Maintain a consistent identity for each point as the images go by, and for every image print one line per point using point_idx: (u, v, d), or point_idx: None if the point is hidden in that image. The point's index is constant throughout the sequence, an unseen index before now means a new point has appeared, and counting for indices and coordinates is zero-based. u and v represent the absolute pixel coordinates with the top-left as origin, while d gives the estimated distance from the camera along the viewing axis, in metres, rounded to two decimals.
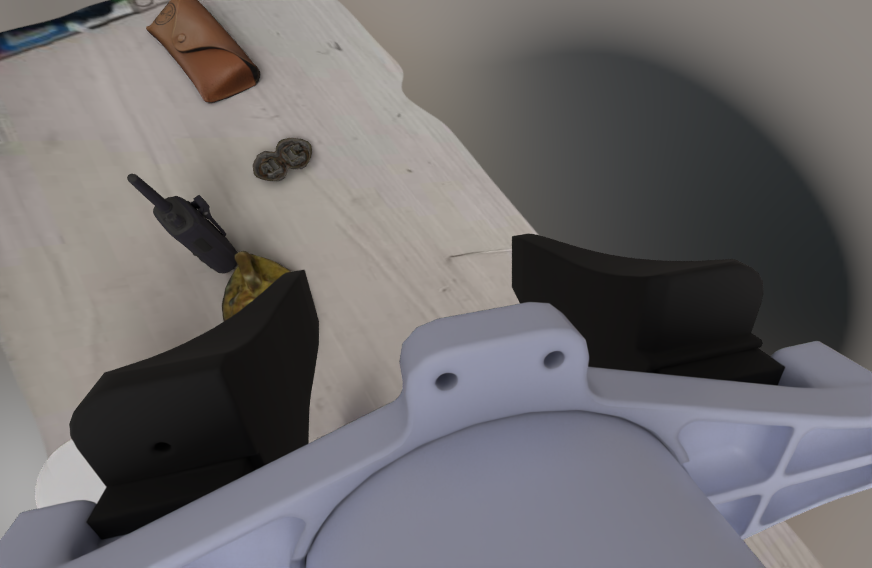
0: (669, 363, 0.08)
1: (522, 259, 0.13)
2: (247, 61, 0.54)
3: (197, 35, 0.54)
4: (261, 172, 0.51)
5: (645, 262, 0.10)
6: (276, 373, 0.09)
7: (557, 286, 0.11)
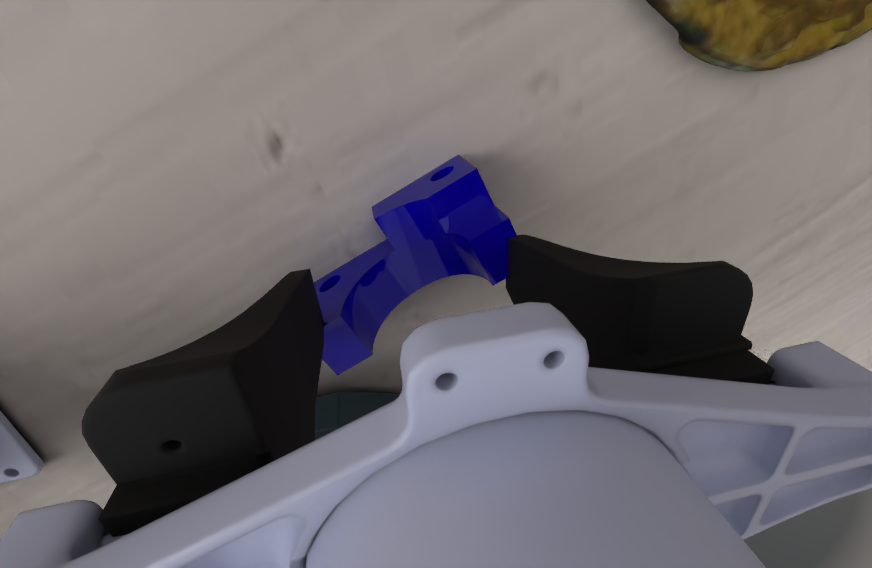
0: (658, 365, 0.08)
1: (515, 260, 0.13)
2: None
3: None
4: None
5: (636, 264, 0.09)
6: (283, 371, 0.09)
7: (549, 287, 0.11)
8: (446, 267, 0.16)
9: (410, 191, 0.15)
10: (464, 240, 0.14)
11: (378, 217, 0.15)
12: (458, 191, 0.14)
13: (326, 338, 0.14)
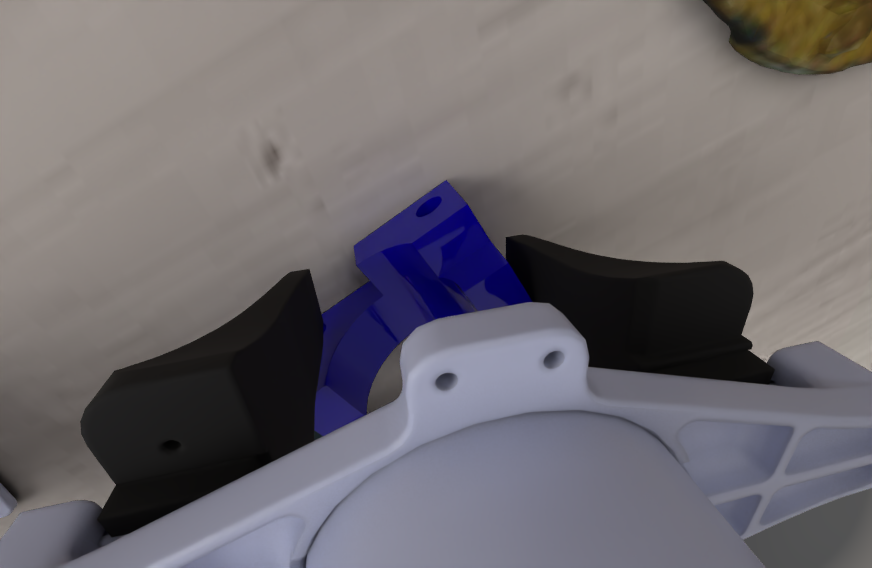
0: (659, 365, 0.08)
1: (516, 260, 0.13)
2: None
3: None
4: None
5: (636, 264, 0.09)
6: (283, 371, 0.09)
7: (549, 287, 0.11)
8: (442, 308, 0.14)
9: (394, 228, 0.14)
10: (459, 287, 0.12)
11: (360, 263, 0.13)
12: (448, 231, 0.12)
13: None
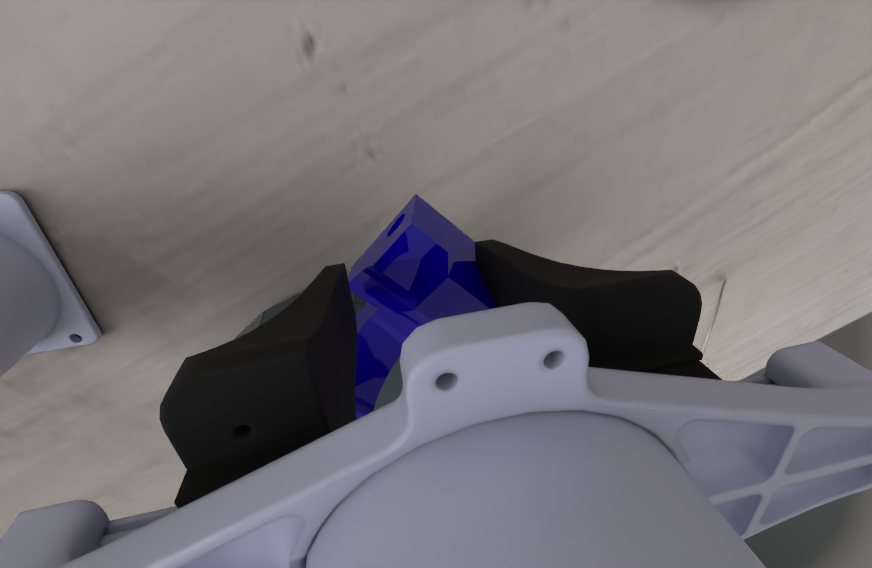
0: None
1: (483, 266, 0.13)
2: None
3: None
4: None
5: (592, 271, 0.09)
6: (334, 362, 0.09)
7: (512, 294, 0.11)
8: None
9: (373, 248, 0.15)
10: None
11: None
12: (402, 250, 0.13)
13: None
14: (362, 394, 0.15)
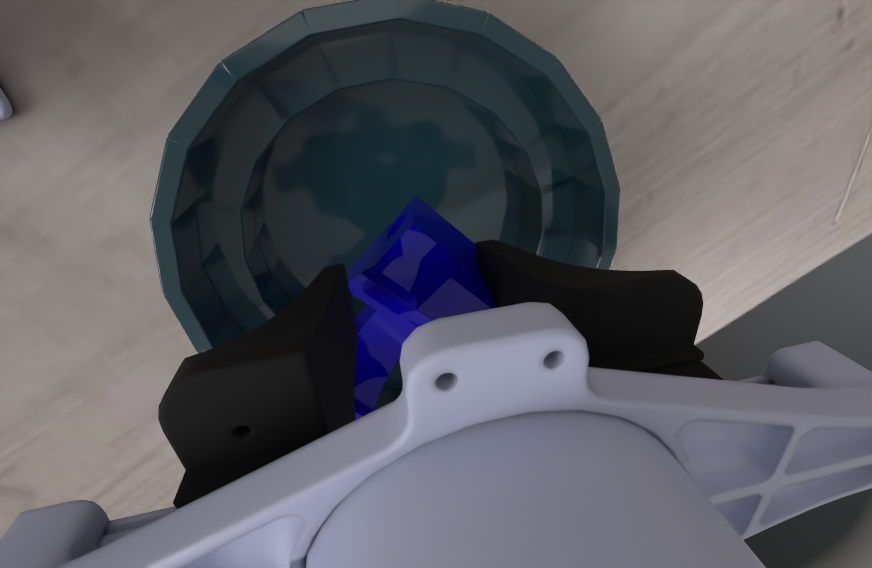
0: None
1: (484, 266, 0.13)
2: None
3: None
4: None
5: (593, 271, 0.09)
6: (334, 362, 0.09)
7: (513, 294, 0.11)
8: None
9: (373, 250, 0.15)
10: None
11: None
12: (403, 251, 0.13)
13: None
14: (362, 396, 0.15)
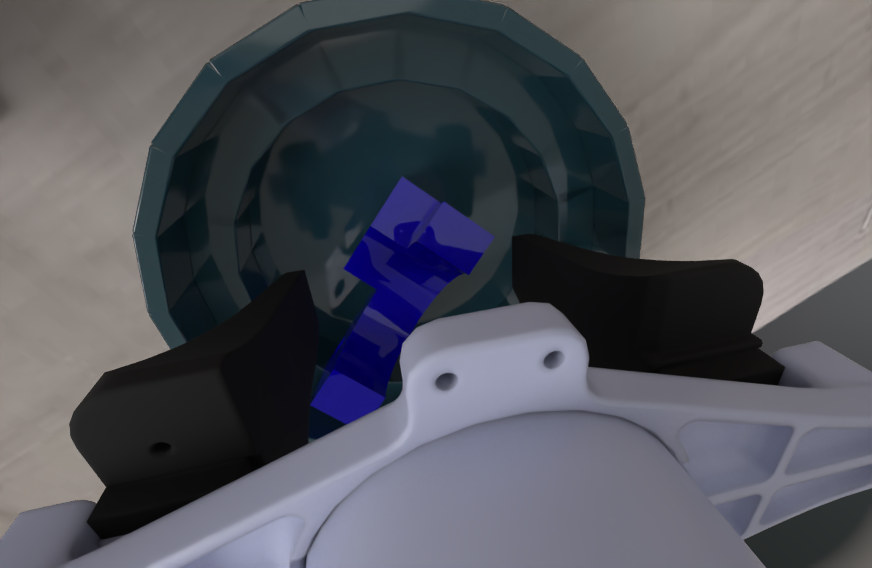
0: (669, 363, 0.08)
1: (522, 259, 0.13)
2: None
3: None
4: None
5: (645, 262, 0.10)
6: (275, 373, 0.09)
7: (557, 286, 0.11)
8: (431, 284, 0.15)
9: None
10: (419, 245, 0.14)
11: (346, 266, 0.15)
12: (396, 205, 0.14)
13: (331, 396, 0.14)
14: (372, 377, 0.14)
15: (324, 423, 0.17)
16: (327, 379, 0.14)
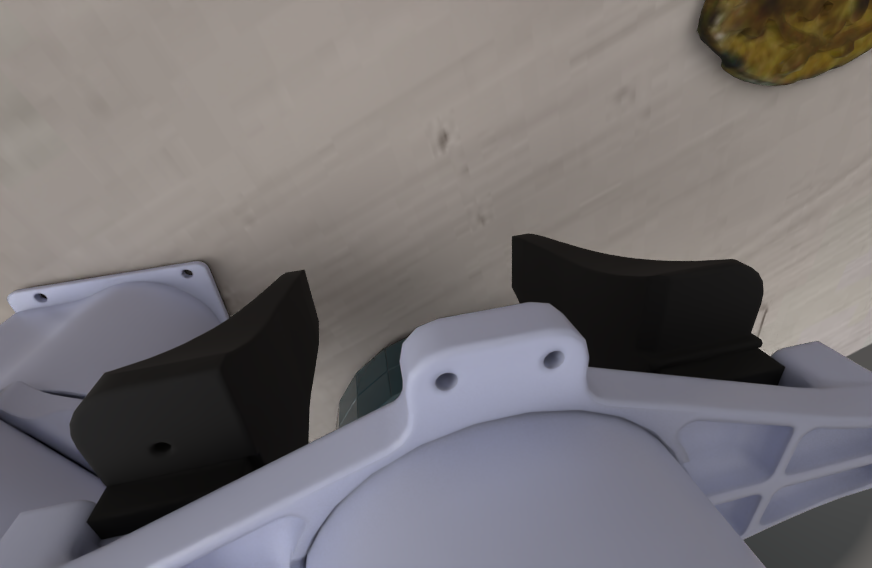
0: (669, 363, 0.08)
1: (522, 259, 0.13)
2: None
3: None
4: None
5: (645, 262, 0.10)
6: (276, 373, 0.09)
7: (557, 286, 0.11)
8: None
9: None
10: None
11: None
12: None
13: None
14: None
15: None
16: None
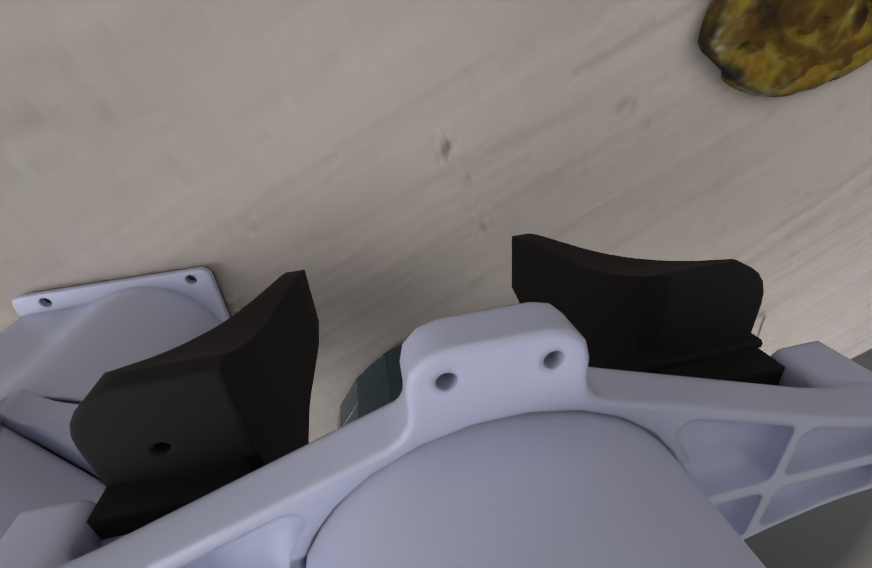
0: (669, 363, 0.08)
1: (522, 259, 0.13)
2: None
3: None
4: None
5: (645, 262, 0.10)
6: (276, 373, 0.09)
7: (557, 286, 0.11)
8: None
9: None
10: None
11: None
12: None
13: None
14: None
15: None
16: None
